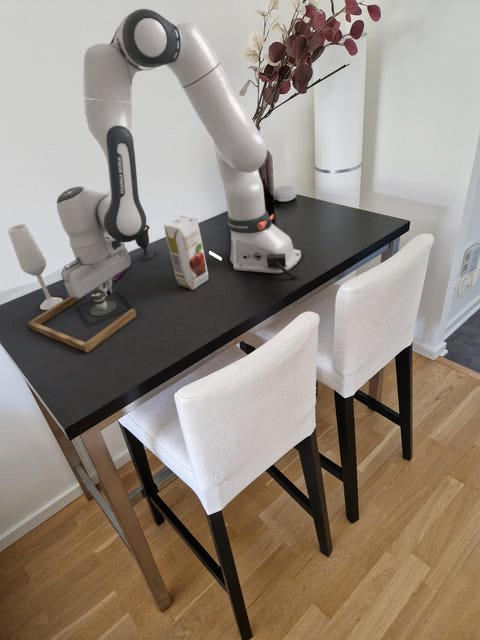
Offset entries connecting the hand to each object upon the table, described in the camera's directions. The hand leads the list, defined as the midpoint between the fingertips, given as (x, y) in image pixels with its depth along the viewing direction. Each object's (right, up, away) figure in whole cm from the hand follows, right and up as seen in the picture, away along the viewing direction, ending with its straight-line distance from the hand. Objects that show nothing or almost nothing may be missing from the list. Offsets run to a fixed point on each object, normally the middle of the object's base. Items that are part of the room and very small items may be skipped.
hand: (107, 294), depth 121 cm
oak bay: (-5, -8, -5) cm, 11 cm away
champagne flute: (-18, -2, +6) cm, 20 cm away
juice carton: (+24, +4, +5) cm, 25 cm away
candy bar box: (-2, +8, +17) cm, 19 cm away
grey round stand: (-1, -4, 0) cm, 4 cm away
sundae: (+6, +14, +24) cm, 29 cm away
